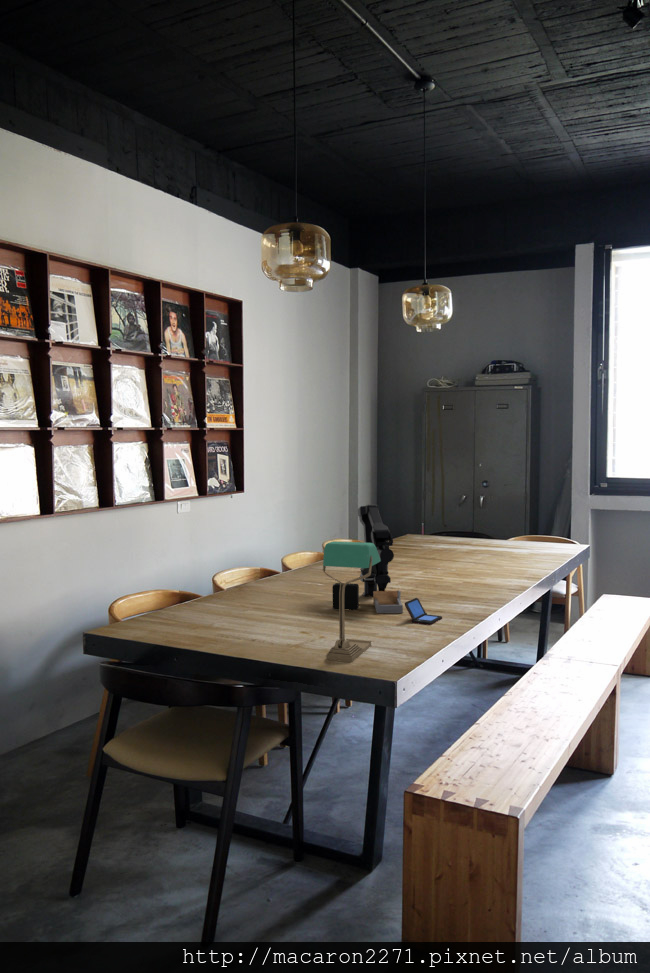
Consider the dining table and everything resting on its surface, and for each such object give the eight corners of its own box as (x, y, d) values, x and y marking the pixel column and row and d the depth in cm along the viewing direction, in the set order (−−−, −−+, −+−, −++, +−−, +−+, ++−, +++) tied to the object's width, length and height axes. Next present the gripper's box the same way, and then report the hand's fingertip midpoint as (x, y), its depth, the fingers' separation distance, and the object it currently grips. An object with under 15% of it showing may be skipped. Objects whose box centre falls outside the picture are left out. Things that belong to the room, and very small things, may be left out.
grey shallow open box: (374, 605, 310) (374, 598, 310) (398, 605, 310) (398, 598, 310) (377, 613, 296) (377, 605, 296) (402, 612, 296) (402, 605, 296)
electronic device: (357, 610, 301) (357, 585, 300) (332, 609, 303) (332, 584, 302) (358, 608, 305) (358, 583, 305) (334, 607, 307) (334, 582, 307)
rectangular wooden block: (400, 603, 312) (400, 590, 311) (400, 604, 310) (400, 591, 310) (373, 603, 311) (373, 590, 311) (373, 604, 310) (373, 591, 309)
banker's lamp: (315, 658, 234) (314, 546, 232) (338, 641, 254) (337, 538, 252) (363, 663, 229) (363, 548, 227) (383, 645, 248) (382, 539, 246)
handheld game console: (430, 625, 276) (430, 605, 275) (403, 622, 281) (403, 602, 281) (443, 618, 286) (443, 599, 286) (417, 615, 292) (416, 596, 291)
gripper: (359, 555, 321) (360, 591, 322) (362, 562, 302) (363, 601, 303) (386, 554, 321) (386, 591, 322) (390, 562, 302) (390, 600, 304)
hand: (381, 595), depth 313 cm, fingers closed
